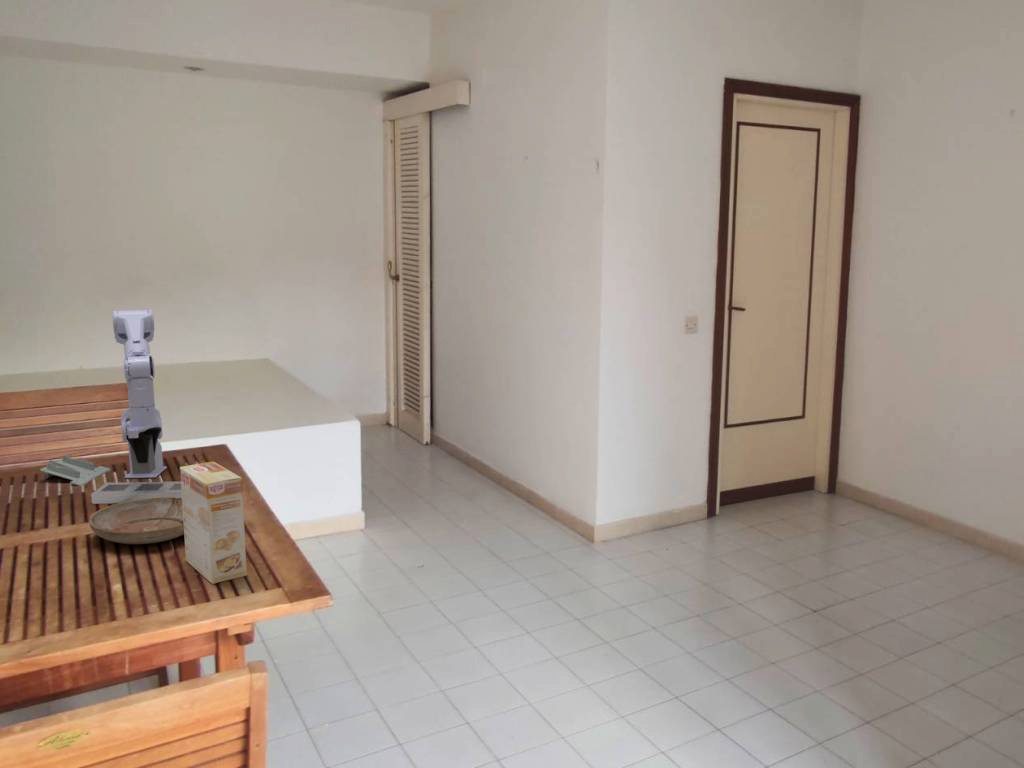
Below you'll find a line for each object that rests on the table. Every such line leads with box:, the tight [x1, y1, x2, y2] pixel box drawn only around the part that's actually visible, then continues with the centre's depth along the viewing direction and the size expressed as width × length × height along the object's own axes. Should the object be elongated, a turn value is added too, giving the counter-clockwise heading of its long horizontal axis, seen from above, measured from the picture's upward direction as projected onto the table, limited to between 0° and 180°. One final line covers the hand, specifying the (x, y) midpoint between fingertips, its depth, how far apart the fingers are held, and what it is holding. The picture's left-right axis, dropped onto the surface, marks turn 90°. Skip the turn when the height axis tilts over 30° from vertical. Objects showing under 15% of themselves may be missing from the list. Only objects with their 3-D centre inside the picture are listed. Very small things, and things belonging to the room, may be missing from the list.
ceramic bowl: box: [88, 497, 184, 545], centre depth 182 cm, size 23×24×5 cm
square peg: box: [130, 438, 156, 474], centre depth 205 cm, size 4×4×8 cm
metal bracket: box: [39, 455, 111, 487], centre depth 223 cm, size 14×6×15 cm
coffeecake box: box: [179, 461, 248, 585], centre depth 162 cm, size 15×7×20 cm, turn 39°
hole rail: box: [90, 480, 182, 505], centre depth 207 cm, size 9×24×2 cm, turn 94°
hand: (146, 460), depth 205 cm, fingers closed on square peg, 4 cm apart
